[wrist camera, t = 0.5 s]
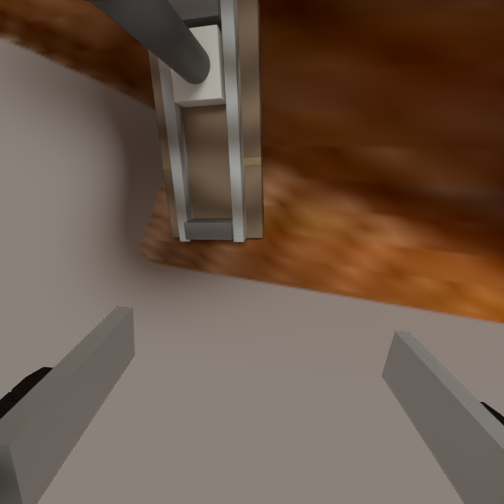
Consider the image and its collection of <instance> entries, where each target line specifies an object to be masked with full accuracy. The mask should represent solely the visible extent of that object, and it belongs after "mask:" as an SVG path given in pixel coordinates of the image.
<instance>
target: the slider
mask: <svg viewBox="0 0 504 504" xmlns="http://www.w3.org/2000/svg"><path fill="white" fill-rule="evenodd" d="M85 1H91V2H92V3H93V4H94V5H95V6H97V7H98V8H99V9H100V10H102V11H103V12H104V13H105V14H106V15H108V16H109V17H110V18H111V19H112V20H114V21H115V22H116V23H117V24H118V25H120V26H121V27H122V28H123V29H124V30H126V31H127V32H128V33H129V34H130V35H132V36H133V37H134V38H135V39H136V40H138V41H139V42H140V43H141V44H142V45H144V46H145V47H146V48H147V49H148V50H150V51H151V52H152V53H153V54H154V55H156V56H157V57H158V58H159V59H160V60H162V61H163V62H164V63H165V64H166V65H168V66H169V67H170V68H171V76H172V85H173V94H174V102H175V103H177V104H179V105H181V106H182V107H196V106H208V105H221V104H226V92H225V74H224V57H223V39H222V33H221V31H220V29H219V27H218V26H217V25H210V26H202V27H195V28H188V27H187V26H186V24H185V23H184V22H183V20H182V19H181V18H180V16H179V15H178V14H177V12H176V11H175V9H174V8H173V7H172V5H171V4H170V3H169V1H168V0H85Z"/></svg>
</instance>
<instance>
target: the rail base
mask: <svg viewBox="0 0 504 504" xmlns="http://www.w3.org/2000/svg"><path fill="white" fill-rule="evenodd" d="M168 1H169V3H170V4H171V5H172V7H173V8H174V9H175V11H176V12H177V14H178V15H179V16H180V18H181V19H182V20H183V22H184V23H185V24H186V26H187V27H188V28H195V27H202V26H210V25H217V26H218V27H219V29H220V31H221V33H222V39H223V57H224V74H225V92H226V104H221V105H208V106H196V107H182V106H181V105H179V104H177V103H175V102H174V94H173V85H172V76H171V68H170V67H169V66H168V65H166V64H165V63H164V62H163V61H162V60H160V59H159V58H158V57H157V56H156V55H154V54H153V53H152V52H151V51H150V50H148V54H149V61H150V69H151V77H152V85H153V92H154V100H155V108H156V115H157V123H158V131H159V138H160V146H161V154H162V161H163V162H162V164H163V169H164V177H165V184H166V192H167V200H168V208H169V215H170V223H171V231H172V237H180V241H187V242H189V241H191V240H232V239H233V238H234V242H244V241H245V240H246V238H263V236H264V208H263V158H262V109H261V59H260V9H259V2H258V0H168Z"/></svg>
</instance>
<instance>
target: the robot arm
mask: <svg viewBox="0 0 504 504" xmlns="http://www.w3.org/2000/svg"><path fill="white" fill-rule="evenodd" d="M134 355H135V350H134V325H133V308H128V307H116V308H115V309H114V310H113V311H112V312H111V313H110V314H109V315H108V316H107V317H106V318H105V319H104V320H103V321H102V322H101V323H100V324H99V325H98V326H96V327H95V328H94V329H93V330H92V332H90V334H88V335H87V336H86V337H85V338H84V339H83V340H82V341H81V342H80V343H79V344H78V345H77V346H76V347H75V348H74V349H73V350H72V351H71V352H70V353H69V354H67V355H66V356H65V357H64V358H63V359H62V360H61V361H60V363H58V364H57V365H56V366H55V367H54V368H50V367H43V368H41V369H39V370H37V371H36V372H34V373H32V374H30V375H29V376H27V377H25V378H24V379H23V380H22V381H21V382H20V383H19V384H18V385H16V386H15V387H14V388H13V389H12V391H11V392H9V393H8V394H6V395H5V396H4V397H3V398H2V399H1V400H0V504H37V503H38V501H39V500H40V498H41V497H42V495H43V494H44V492H45V491H46V489H47V488H48V486H49V484H50V483H51V482H52V480H53V479H54V477H55V476H56V474H57V472H58V471H59V469H60V468H61V466H62V465H63V463H64V462H65V460H66V459H67V457H68V456H69V454H70V453H71V451H72V450H73V448H74V447H75V445H76V444H77V442H78V441H79V439H80V437H81V436H82V434H83V433H84V431H85V430H86V428H87V427H88V425H89V424H90V422H91V421H92V419H93V418H94V416H95V414H96V413H97V411H98V410H99V409H100V407H101V405H102V404H103V403H104V401H105V399H106V398H107V396H108V395H109V393H110V392H111V390H112V389H113V387H114V386H115V384H116V383H117V381H118V380H119V378H120V377H121V375H122V373H123V372H124V371H125V369H126V367H127V366H128V364H129V363H130V361H131V360H132V358H133V357H134ZM382 377H383V378H384V380H385V381H386V383H387V385H388V386H389V388H390V389H391V391H392V392H393V394H394V395H395V397H396V398H397V400H398V402H399V403H400V405H401V406H402V408H403V409H404V411H405V412H406V414H407V416H408V417H409V418H410V420H411V422H412V423H413V425H414V426H415V428H416V430H417V431H418V433H419V434H420V436H421V437H422V439H423V440H424V442H425V443H426V445H427V447H428V448H429V450H430V451H431V452H432V454H433V456H434V457H435V459H436V460H437V462H438V464H439V465H440V467H441V468H442V470H443V471H444V473H445V475H446V476H447V478H448V479H449V481H450V482H451V484H452V485H453V487H454V488H455V490H456V492H457V493H458V494H459V496H460V498H461V499H462V501H463V502H464V504H504V417H503V416H502V415H501V414H500V413H498V412H497V411H495V410H494V409H492V408H491V407H490V406H488V405H487V404H485V403H484V402H479V401H478V400H477V399H476V398H475V397H474V396H473V395H472V394H471V393H470V392H469V391H468V390H467V389H466V388H465V387H464V386H463V385H462V384H461V383H460V382H459V381H458V380H457V379H456V378H455V377H454V376H453V375H452V374H451V373H450V372H449V371H448V370H447V369H446V368H445V367H444V366H443V365H442V364H441V363H440V362H439V361H438V360H437V359H436V358H435V357H434V356H433V355H432V354H431V353H430V352H429V351H428V350H427V349H426V348H425V347H424V346H423V345H422V344H421V343H420V342H419V341H418V340H417V339H416V338H415V337H414V336H413V335H412V334H411V333H410V332H398V331H395V333H394V337H393V340H392V344H391V347H390V350H389V353H388V357H387V360H386V363H385V367H384V370H383V373H382Z"/></svg>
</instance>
